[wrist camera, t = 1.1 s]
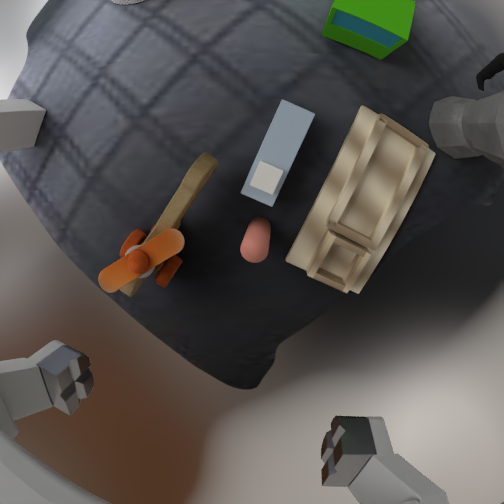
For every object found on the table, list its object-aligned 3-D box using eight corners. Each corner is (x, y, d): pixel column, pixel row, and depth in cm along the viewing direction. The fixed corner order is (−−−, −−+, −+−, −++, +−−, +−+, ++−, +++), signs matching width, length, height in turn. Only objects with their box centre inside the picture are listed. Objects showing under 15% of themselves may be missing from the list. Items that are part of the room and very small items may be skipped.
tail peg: (253, 213, 37) (246, 231, 30) (274, 222, 37) (273, 243, 30) (245, 232, 38) (236, 255, 31) (265, 241, 39) (261, 266, 31)
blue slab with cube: (281, 103, 32) (282, 97, 27) (311, 116, 32) (316, 113, 27) (244, 187, 36) (239, 194, 32) (273, 200, 37) (271, 208, 32)
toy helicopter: (127, 252, 42) (77, 296, 29) (196, 135, 34) (150, 135, 21) (169, 283, 43) (130, 337, 30) (247, 171, 35) (227, 188, 23)
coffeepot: (475, 174, 31) (559, 204, 14) (428, 170, 32) (514, 199, 16) (469, 76, 25) (551, 62, 9) (420, 63, 27) (498, 31, 10)
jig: (360, 106, 30) (368, 103, 27) (432, 153, 31) (444, 155, 28) (285, 258, 39) (285, 269, 36) (357, 290, 40) (362, 302, 37)
